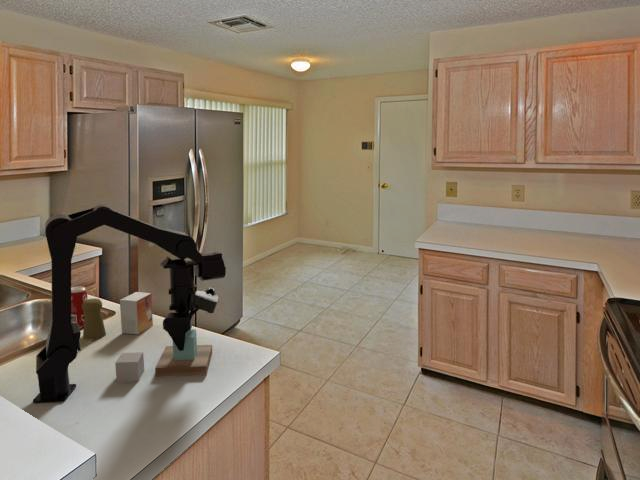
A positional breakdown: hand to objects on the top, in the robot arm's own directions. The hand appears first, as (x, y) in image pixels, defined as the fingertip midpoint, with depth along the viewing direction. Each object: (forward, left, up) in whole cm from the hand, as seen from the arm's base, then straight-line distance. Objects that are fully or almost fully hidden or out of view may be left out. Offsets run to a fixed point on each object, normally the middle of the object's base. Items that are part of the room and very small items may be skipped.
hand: (184, 342), depth 111 cm
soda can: (+28, +36, -6) cm, 46 cm away
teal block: (0, 0, -4) cm, 4 cm away
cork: (+20, +29, -6) cm, 36 cm away
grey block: (-5, +12, -6) cm, 14 cm away
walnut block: (0, 0, -7) cm, 7 cm away
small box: (+24, +18, -6) cm, 31 cm away
